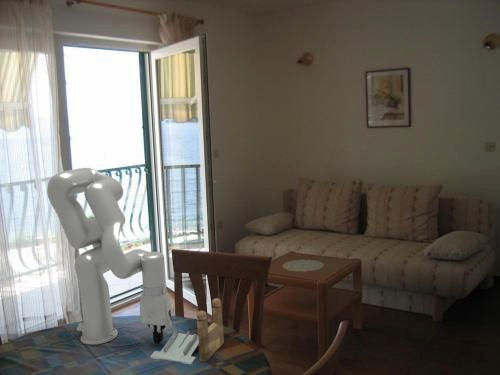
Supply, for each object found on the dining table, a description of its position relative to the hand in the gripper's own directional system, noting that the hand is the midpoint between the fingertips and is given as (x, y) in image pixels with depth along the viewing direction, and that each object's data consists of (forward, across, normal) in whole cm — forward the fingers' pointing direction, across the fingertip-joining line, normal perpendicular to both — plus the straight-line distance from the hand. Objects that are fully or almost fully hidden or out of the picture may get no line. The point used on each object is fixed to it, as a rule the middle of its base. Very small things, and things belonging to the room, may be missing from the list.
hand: (158, 341), depth 170 cm
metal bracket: (+2, +10, -3) cm, 10 cm away
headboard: (+1, +20, 0) cm, 20 cm away
